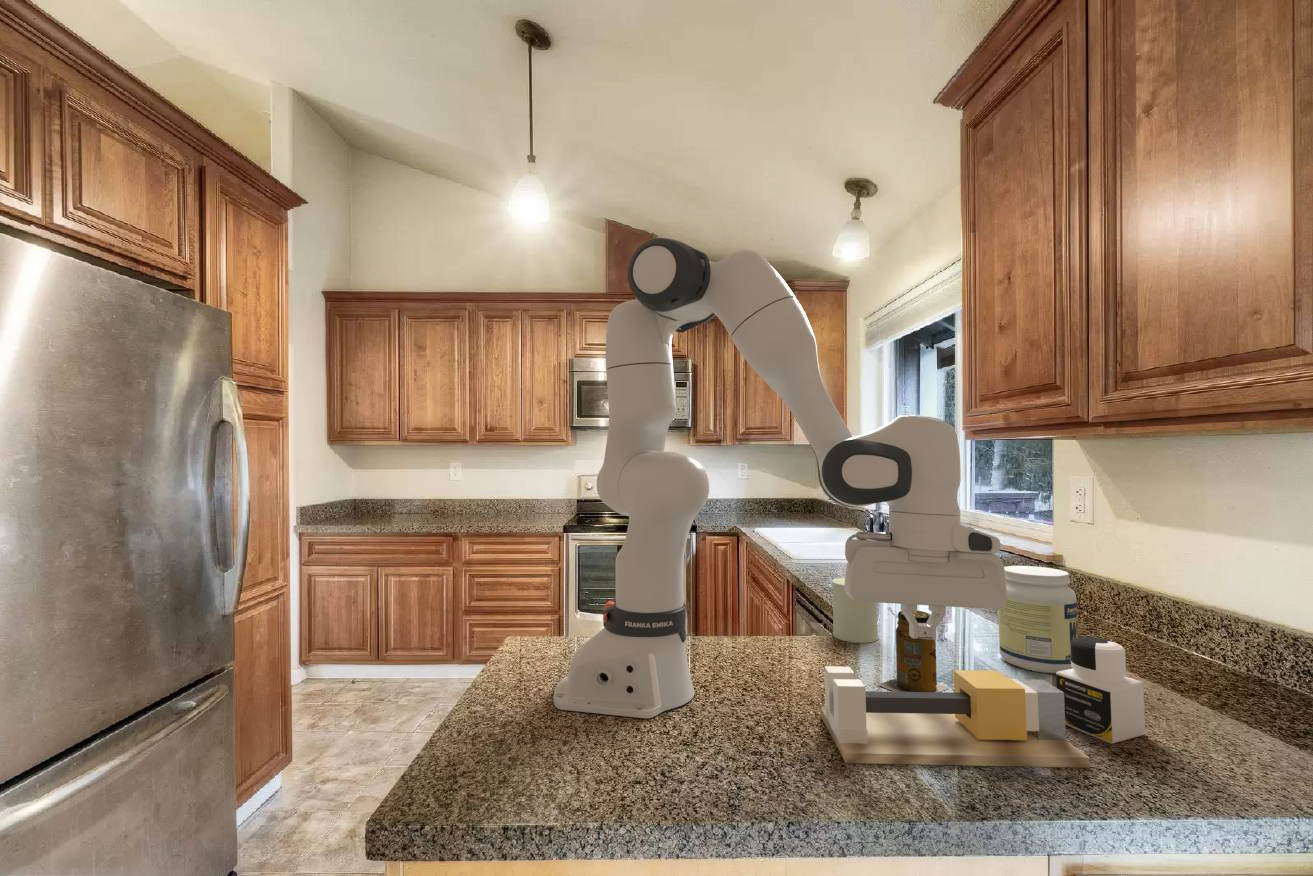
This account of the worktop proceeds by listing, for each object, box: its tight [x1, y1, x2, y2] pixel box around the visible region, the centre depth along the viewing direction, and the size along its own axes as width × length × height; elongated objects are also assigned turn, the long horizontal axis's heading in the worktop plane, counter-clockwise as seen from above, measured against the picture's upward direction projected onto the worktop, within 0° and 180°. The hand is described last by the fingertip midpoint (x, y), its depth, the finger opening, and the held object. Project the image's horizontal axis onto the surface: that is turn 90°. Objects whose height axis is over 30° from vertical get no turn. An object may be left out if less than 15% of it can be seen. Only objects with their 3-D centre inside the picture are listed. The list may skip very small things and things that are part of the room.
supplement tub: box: [997, 565, 1079, 674], centre depth 105 cm, size 12×12×17 cm
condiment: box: [877, 610, 949, 692], centre depth 94 cm, size 7×8×12 cm
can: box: [831, 577, 880, 644], centre depth 122 cm, size 9×9×12 cm
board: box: [820, 707, 1091, 769], centre depth 76 cm, size 29×13×1 cm, turn 87°
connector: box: [1016, 678, 1067, 741], centre depth 76 cm, size 3×4×6 cm
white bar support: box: [824, 665, 868, 744], centre depth 77 cm, size 4×8×7 cm, turn 177°
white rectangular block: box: [1010, 678, 1039, 731], centre depth 76 cm, size 2×5×5 cm, turn 177°
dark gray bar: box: [833, 690, 971, 714], centre depth 77 cm, size 26×2×2 cm, turn 87°
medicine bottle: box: [1055, 636, 1146, 745], centre depth 79 cm, size 7×7×12 cm
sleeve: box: [953, 669, 1027, 740], centre depth 76 cm, size 6×6×6 cm
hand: (922, 638), depth 77 cm, fingers closed
